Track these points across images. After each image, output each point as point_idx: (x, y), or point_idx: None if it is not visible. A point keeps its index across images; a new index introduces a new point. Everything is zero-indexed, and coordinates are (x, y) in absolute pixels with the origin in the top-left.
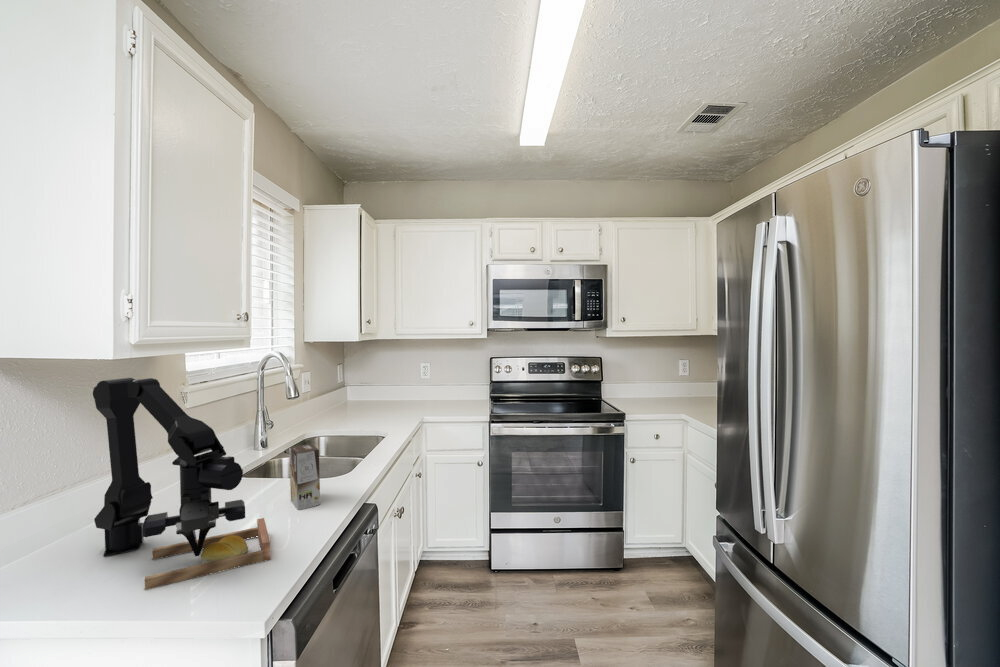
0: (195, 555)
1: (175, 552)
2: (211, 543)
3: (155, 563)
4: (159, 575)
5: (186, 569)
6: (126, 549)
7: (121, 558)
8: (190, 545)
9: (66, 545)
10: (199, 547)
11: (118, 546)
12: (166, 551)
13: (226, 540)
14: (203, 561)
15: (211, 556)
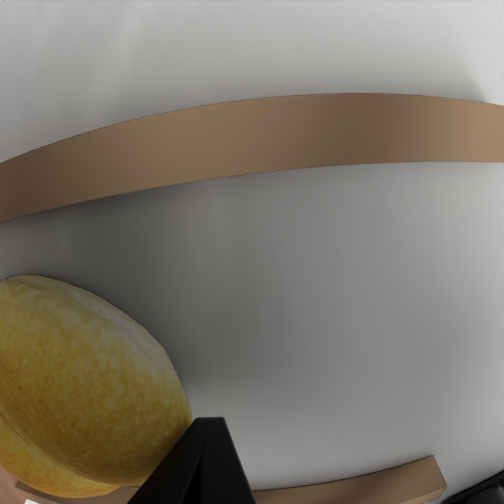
0: (221, 422)
1: (349, 488)
2: (111, 481)
3: (431, 430)
4: (478, 116)
5: (239, 110)
6: (473, 494)
7: (493, 461)
8: (254, 501)
9: None
10: (177, 469)
11: (493, 496)
12: (389, 490)
13: (23, 456)
14: (152, 346)
15: (60, 329)
